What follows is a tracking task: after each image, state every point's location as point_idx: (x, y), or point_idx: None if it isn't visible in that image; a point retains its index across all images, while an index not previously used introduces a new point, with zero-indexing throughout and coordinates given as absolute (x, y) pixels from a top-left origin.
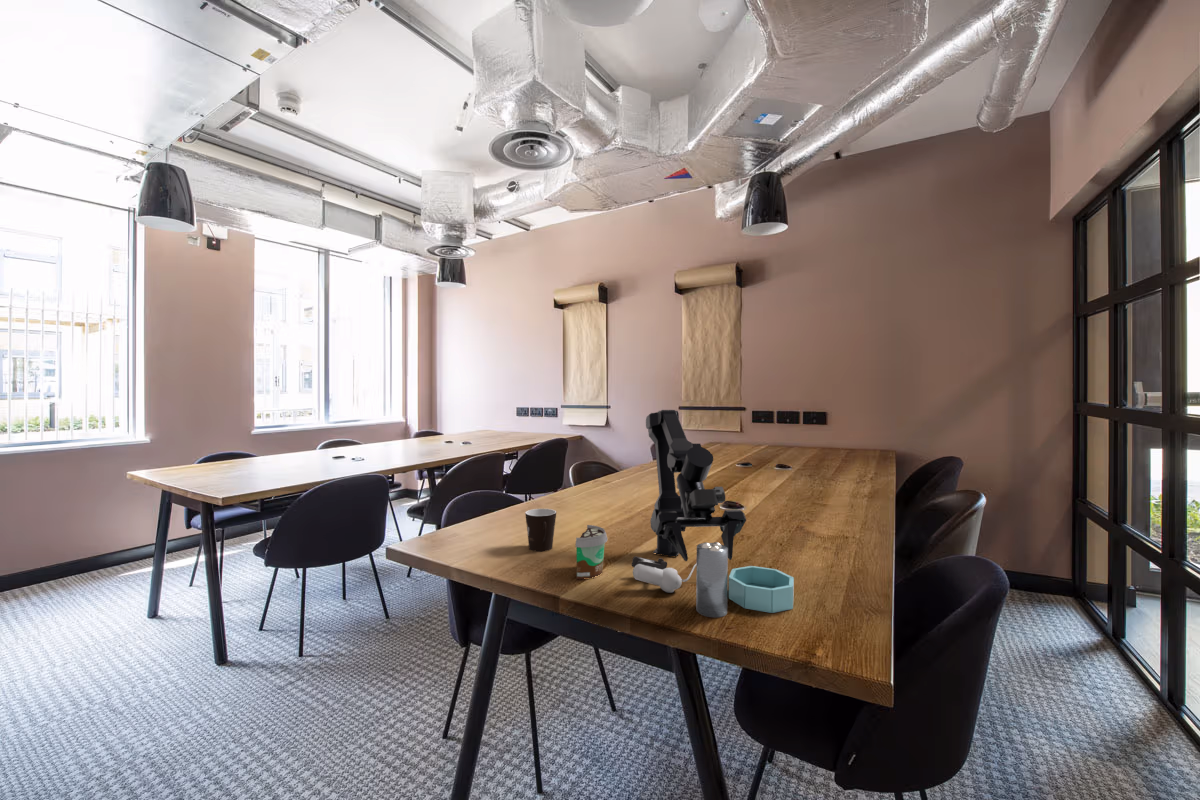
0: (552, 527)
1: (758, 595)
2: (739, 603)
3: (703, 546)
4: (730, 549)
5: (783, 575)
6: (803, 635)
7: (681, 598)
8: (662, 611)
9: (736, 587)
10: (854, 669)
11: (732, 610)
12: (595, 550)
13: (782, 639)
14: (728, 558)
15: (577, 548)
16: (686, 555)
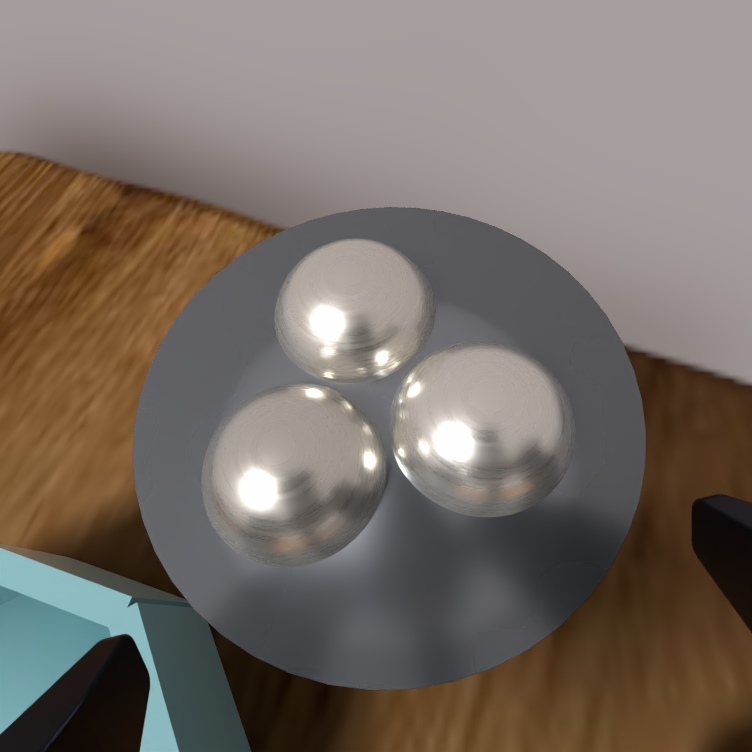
0: None
1: (81, 570)
2: (215, 655)
3: (527, 357)
4: (42, 719)
5: None
6: (45, 347)
7: (605, 735)
8: (693, 499)
9: (188, 700)
10: (16, 176)
11: None
12: None
13: (147, 306)
14: (146, 703)
15: None
16: (738, 512)
